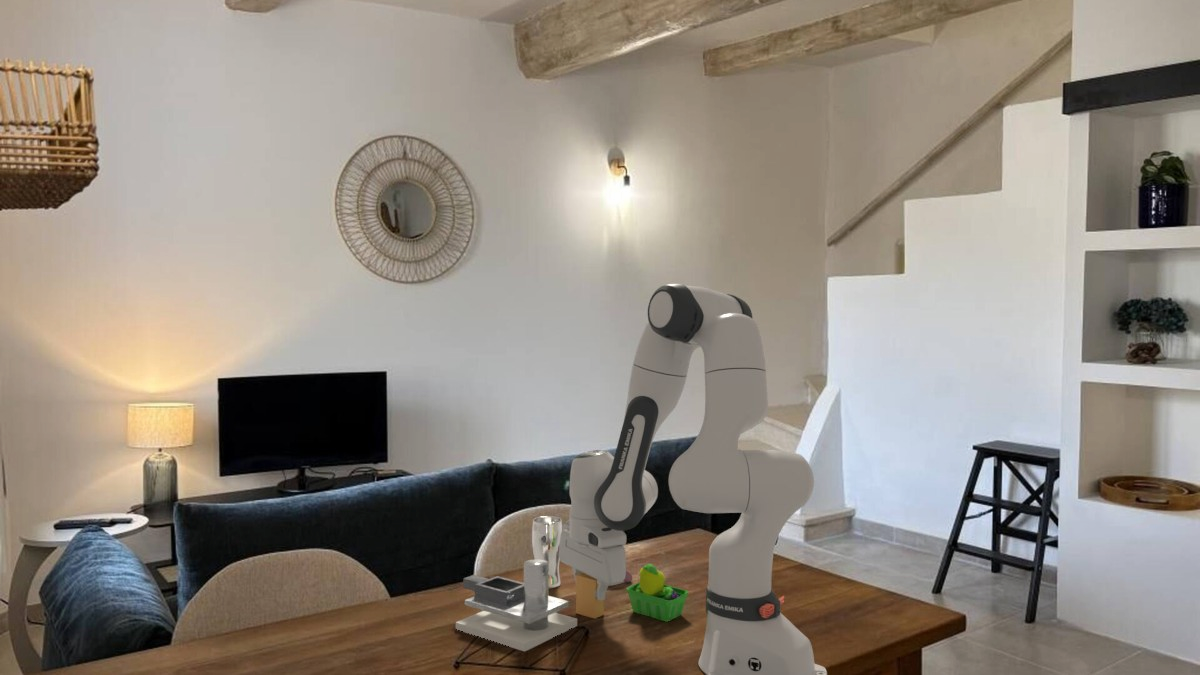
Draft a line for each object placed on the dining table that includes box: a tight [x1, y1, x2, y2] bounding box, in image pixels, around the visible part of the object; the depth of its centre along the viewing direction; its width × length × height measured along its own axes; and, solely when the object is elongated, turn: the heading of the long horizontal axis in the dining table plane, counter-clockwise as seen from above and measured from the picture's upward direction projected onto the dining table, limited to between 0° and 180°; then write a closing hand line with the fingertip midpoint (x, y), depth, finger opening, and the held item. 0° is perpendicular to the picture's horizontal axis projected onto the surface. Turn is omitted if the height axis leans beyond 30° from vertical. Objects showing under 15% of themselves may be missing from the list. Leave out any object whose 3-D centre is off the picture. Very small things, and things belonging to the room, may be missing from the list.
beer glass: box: [531, 515, 563, 590], centre depth 205 cm, size 7×7×15 cm
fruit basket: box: [626, 563, 689, 623], centre depth 186 cm, size 11×9×11 cm
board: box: [455, 610, 578, 652], centre depth 179 cm, size 18×16×2 cm
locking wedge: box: [575, 573, 605, 619], centre depth 187 cm, size 5×3×8 cm, turn 54°
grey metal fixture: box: [462, 559, 570, 631], centre depth 180 cm, size 22×12×12 cm, turn 54°
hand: (590, 594), depth 187 cm, fingers closed on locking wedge, 6 cm apart
